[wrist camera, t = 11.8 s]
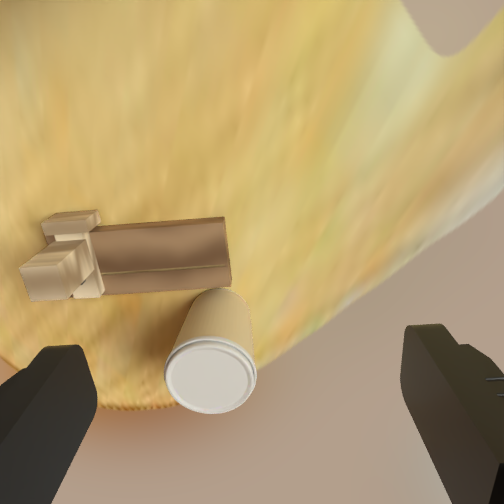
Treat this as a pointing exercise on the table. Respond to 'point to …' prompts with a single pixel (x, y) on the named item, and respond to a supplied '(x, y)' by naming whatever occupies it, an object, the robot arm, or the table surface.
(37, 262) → the beige stepped block
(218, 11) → the table surface
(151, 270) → the board
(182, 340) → the coffee cup
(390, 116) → the table surface
